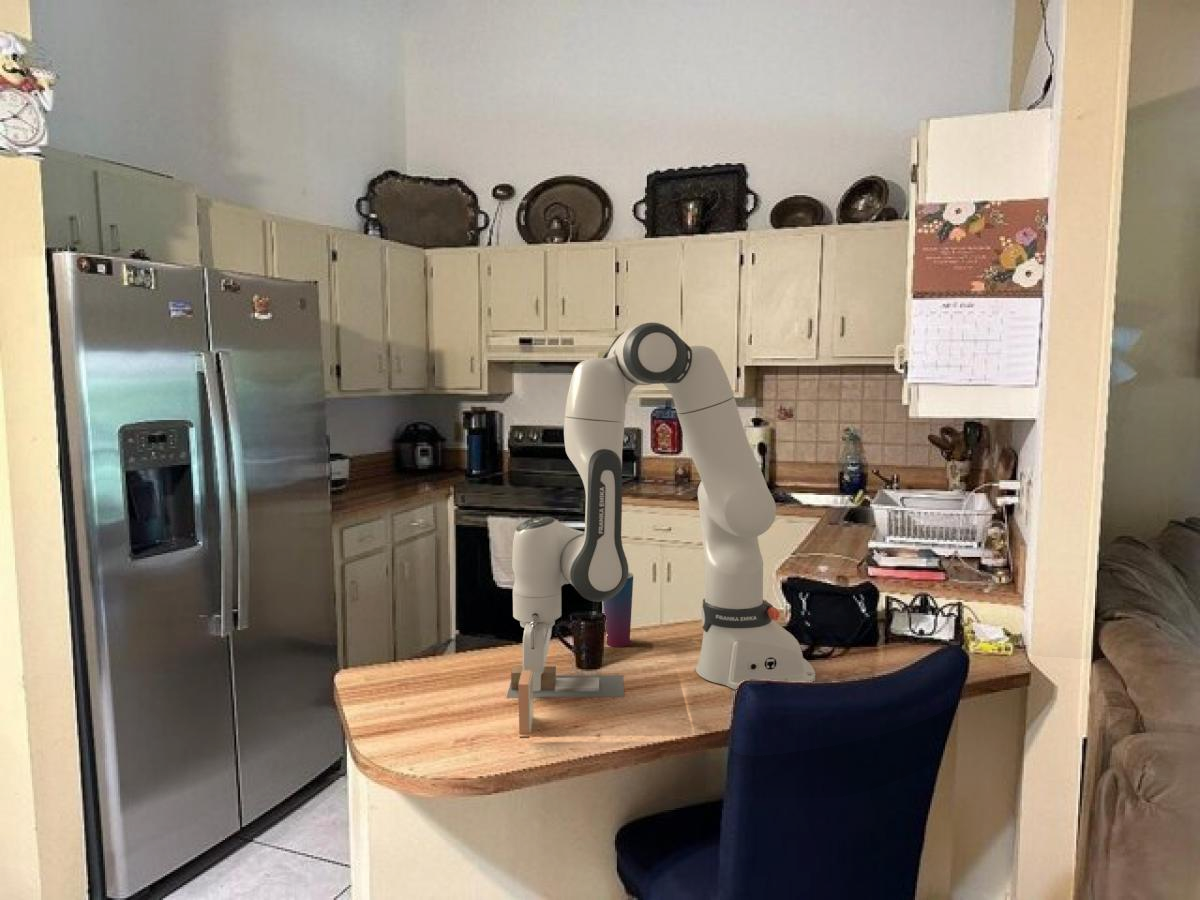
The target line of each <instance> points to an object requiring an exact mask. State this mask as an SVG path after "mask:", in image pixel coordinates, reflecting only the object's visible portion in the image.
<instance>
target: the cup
mask: <svg viewBox="0 0 1200 900" xmlns="http://www.w3.org/2000/svg"><path fill="white" fill-rule="evenodd" d="M633 586H634V573H632V572H630V571H628V578H627V581H626V583H625V585H624V587H623V588H622V590H621V591H620V592H619V593H618V594H617V595H615V596H614V597H612V598H611V599H608V600H605V601H602V602H603V613H604V614H603V615H605V616H606V620H607V622H606V630H607V634H608V636H607V642H606V641H605V643H607V644H606V645H607V646H609V647H612V648H623V647H628V646H629V645H630V644H629V643H630V641H631V628H632V624H631V623H632V607H633V606H632V605H633V591H634V589H633V588H634V587H633Z"/></svg>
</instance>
